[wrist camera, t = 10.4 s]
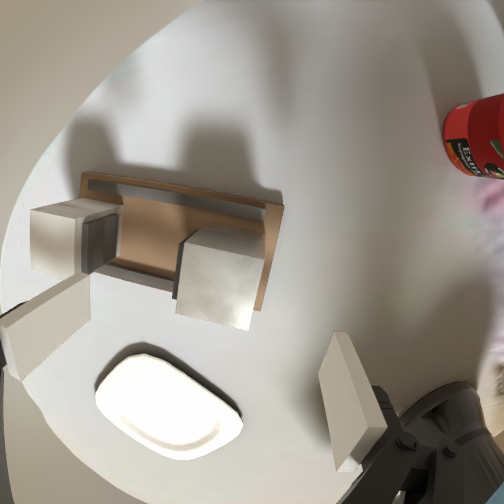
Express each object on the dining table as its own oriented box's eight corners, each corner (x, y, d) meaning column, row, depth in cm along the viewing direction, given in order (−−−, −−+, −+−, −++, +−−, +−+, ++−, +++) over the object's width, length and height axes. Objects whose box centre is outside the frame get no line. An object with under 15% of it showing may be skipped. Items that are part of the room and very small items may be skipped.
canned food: (431, 152, 24) (504, 150, 13) (450, 90, 22) (517, 68, 11) (479, 189, 24) (549, 203, 13) (495, 130, 22) (562, 126, 11)
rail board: (260, 306, 29) (257, 361, 20) (82, 263, 29) (30, 294, 20) (283, 205, 26) (292, 222, 17) (88, 172, 26) (28, 177, 17)
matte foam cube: (265, 232, 25) (264, 259, 18) (253, 285, 27) (248, 330, 19) (202, 219, 25) (175, 240, 18) (193, 272, 27) (167, 310, 19)
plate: (88, 395, 35) (83, 402, 33) (145, 331, 31) (139, 339, 29) (182, 459, 37) (180, 467, 36) (260, 416, 33) (260, 425, 32)
